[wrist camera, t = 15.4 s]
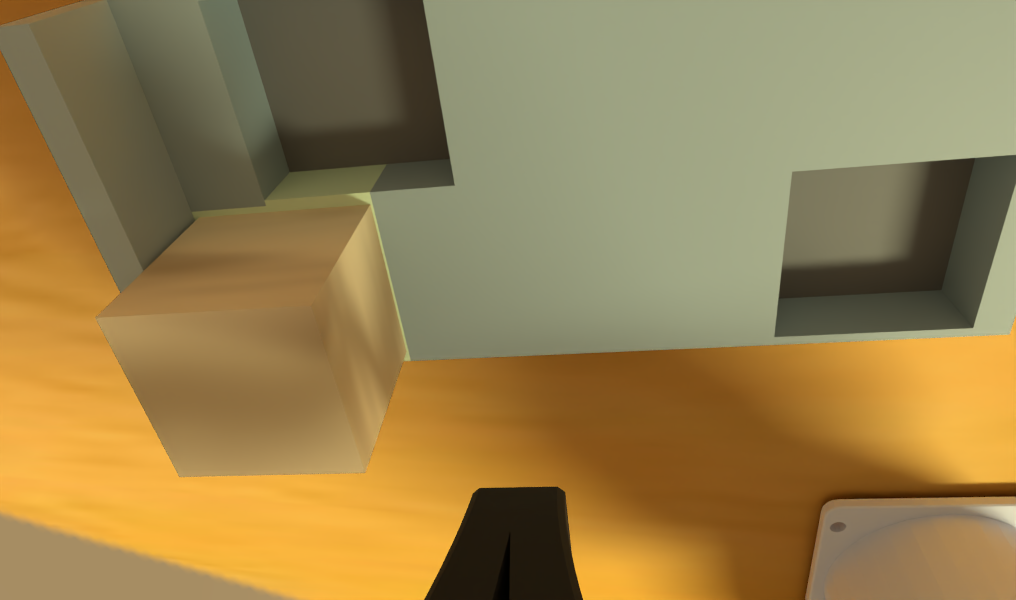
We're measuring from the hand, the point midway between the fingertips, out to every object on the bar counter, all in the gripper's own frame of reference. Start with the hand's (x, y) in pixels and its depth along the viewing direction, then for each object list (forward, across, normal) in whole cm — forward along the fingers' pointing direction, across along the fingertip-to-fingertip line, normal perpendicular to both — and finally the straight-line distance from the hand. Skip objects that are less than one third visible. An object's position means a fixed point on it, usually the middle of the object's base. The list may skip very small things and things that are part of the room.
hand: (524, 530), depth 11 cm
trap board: (+10, -1, -2) cm, 10 cm away
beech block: (+8, +6, 0) cm, 10 cm away
